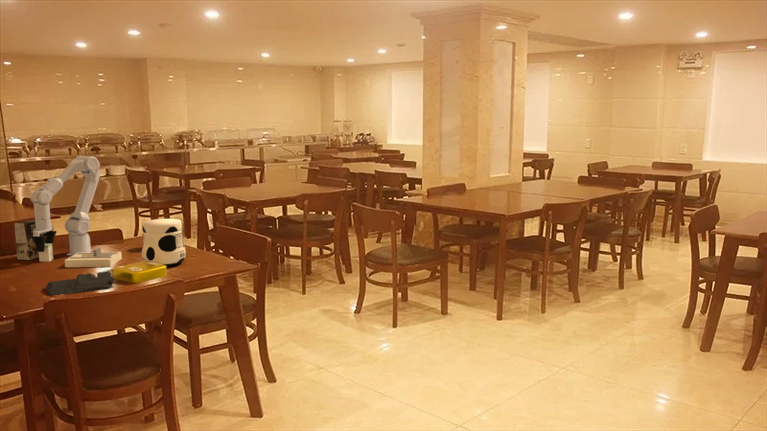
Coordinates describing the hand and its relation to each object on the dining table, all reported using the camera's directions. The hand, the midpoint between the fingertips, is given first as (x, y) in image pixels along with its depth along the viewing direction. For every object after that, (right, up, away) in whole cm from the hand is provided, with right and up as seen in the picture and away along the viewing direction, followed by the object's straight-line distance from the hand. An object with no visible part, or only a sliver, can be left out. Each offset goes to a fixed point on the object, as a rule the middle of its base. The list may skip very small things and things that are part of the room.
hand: (45, 249), depth 266 cm
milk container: (+53, -6, -5) cm, 53 cm away
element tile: (+50, -10, -24) cm, 57 cm away
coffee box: (-9, -4, +6) cm, 12 cm away
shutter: (+27, -2, -3) cm, 27 cm away
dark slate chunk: (+34, -12, -39) cm, 53 cm away
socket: (+21, -5, -3) cm, 22 cm away
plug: (0, -5, +1) cm, 5 cm away
